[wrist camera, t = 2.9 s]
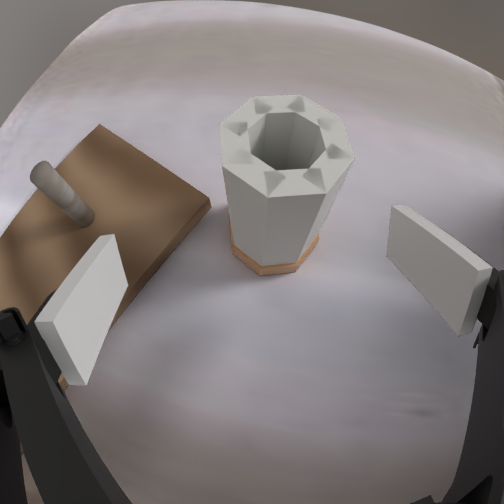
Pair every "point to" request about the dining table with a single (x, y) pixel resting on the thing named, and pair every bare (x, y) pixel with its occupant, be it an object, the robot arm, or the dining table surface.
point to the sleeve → (281, 178)
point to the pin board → (95, 221)
